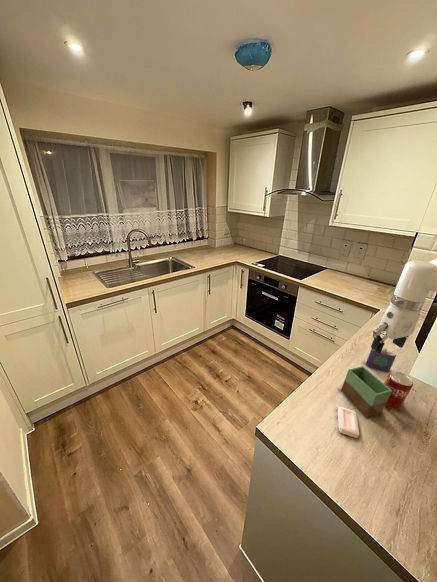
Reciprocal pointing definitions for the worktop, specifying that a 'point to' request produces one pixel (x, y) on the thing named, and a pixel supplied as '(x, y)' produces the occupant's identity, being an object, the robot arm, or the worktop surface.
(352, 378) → the green basket
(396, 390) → the soda can
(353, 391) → the walnut basket
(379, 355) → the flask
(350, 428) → the soap bar
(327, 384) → the worktop surface
